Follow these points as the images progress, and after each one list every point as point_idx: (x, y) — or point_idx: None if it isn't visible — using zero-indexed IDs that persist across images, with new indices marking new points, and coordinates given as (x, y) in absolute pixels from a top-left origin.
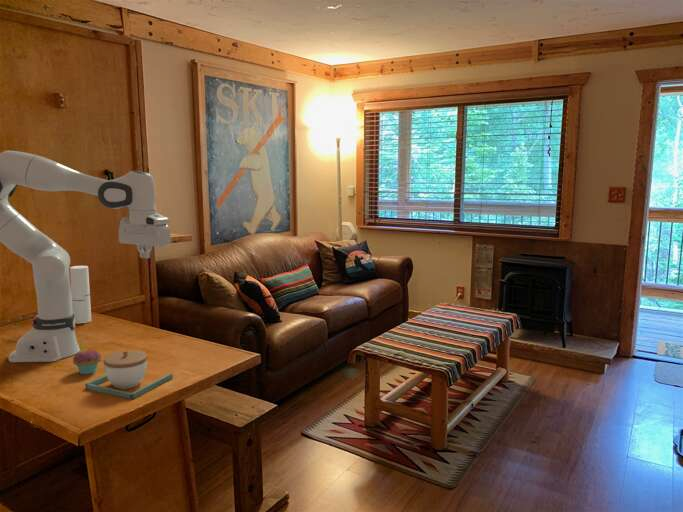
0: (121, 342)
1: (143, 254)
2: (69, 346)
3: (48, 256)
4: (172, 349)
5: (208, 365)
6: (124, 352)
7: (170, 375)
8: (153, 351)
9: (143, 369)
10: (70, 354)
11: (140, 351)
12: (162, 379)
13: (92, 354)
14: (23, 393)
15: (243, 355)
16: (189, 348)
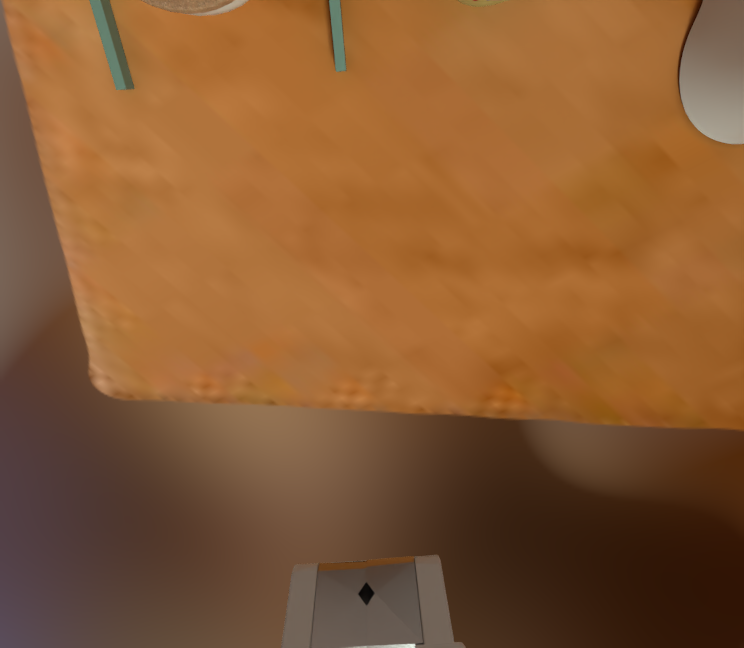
0: (593, 274)
1: (351, 619)
2: (721, 49)
3: None
4: (368, 309)
5: (137, 256)
6: None
7: (113, 76)
8: (413, 263)
9: None
10: (689, 47)
11: (181, 2)
12: (95, 19)
13: None
14: None
15: (127, 375)
16: (325, 343)
